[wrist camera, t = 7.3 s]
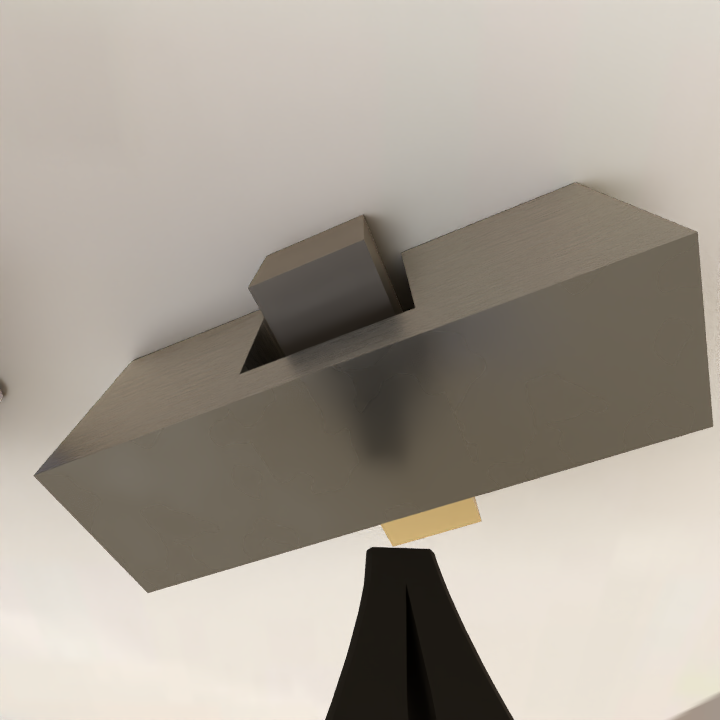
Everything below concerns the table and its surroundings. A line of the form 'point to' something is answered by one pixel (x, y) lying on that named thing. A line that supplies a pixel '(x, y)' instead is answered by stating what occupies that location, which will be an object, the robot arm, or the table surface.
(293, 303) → the grey rectangular bar
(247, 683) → the table surface
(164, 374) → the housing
